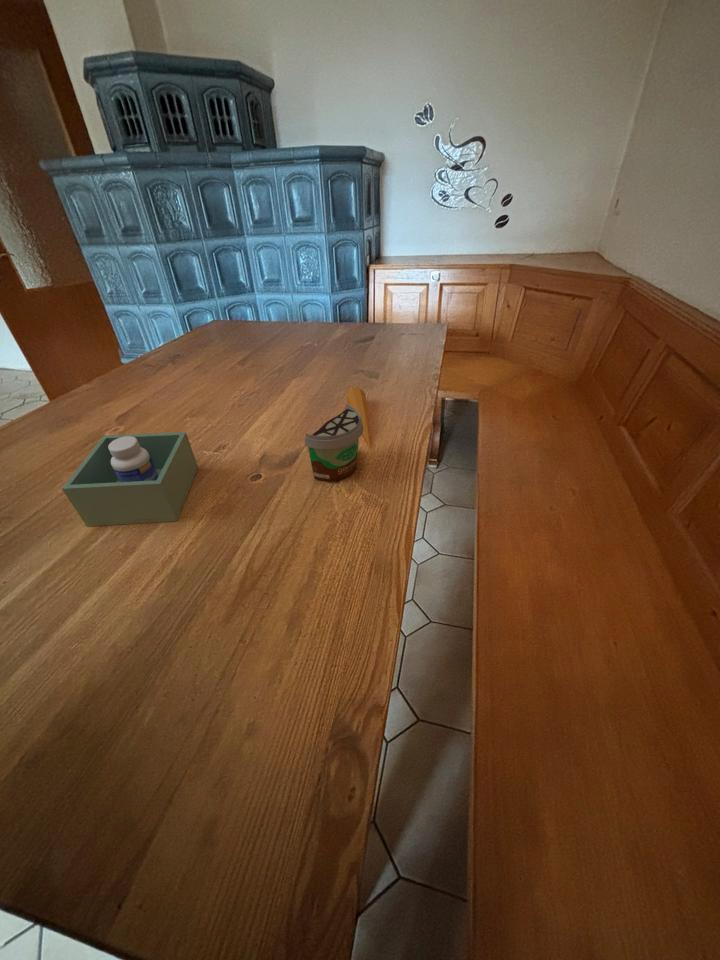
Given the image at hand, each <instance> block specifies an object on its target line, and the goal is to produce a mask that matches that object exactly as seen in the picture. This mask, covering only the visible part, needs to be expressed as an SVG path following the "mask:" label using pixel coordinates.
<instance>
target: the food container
mask: <svg viewBox="0 0 720 960" xmlns="http://www.w3.org/2000/svg"><path fill="white" fill-rule="evenodd" d="M362 433H363V423H362V419H361V417H360V415H359V413H358V411H357V410H356V409H354V408H353V407H351V406H349V405H348V403H346V404H345V409H344V410H342V412H340V413H339V414H338V415H336V416H334V417H332V418H330V419H328V420H327V421H326V422H325V423H324V424H322V426H320V427H319V429H318V430H316V431H315V432H313V433H312V434H310V433H305V437H304V446H305V447H307V449H308V454H309V459H310V463H311V469H312V473H313V479H315V480H317V481H321V482H326V483H327V482H328V483H333V482H339V481H342V480H346V479H347V478H349V477H351V476H353V474H354V473H355V472H356V470H357V466H358V465H357V464H358V453H359V441H360V437H361V436H363V435H362Z"/></svg>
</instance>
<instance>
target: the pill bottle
mask: <svg viewBox="0 0 720 960" xmlns="http://www.w3.org/2000/svg"><path fill="white" fill-rule="evenodd" d="M108 449H109V451H110V453H111V455H112V456H113V457H112V459H111V465H112V467H113V469H114V471H115V473H116V475H117V477H118V479H119V481H120V482H136V481H156V480H157V478H158V477H159V476H158V473H157V471H156V469H155V467H154V464H153V462H152V460H151V458H150V455H149V453H148V452H147V450H145V449H144V448H141V447H140V444H139V443H138V441H137V439H136V438H135V437H131V436H126V437H121V438H118V439H116V440H114V441H112V442H111V443H110V444H109V446H108Z"/></svg>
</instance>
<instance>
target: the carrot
mask: <svg viewBox="0 0 720 960" xmlns="http://www.w3.org/2000/svg"><path fill="white" fill-rule="evenodd" d="M346 402H347V405H349V406H351V407H353V408H354V409H356V410H357V411H358V413H359V415H360V417H361V419H362V423H363V433H362V435H361V436H363V438H364V440H365V442H366V443H367V445H368V447H369V448H370V450H371V449H372V448H371V447H372V444H371V428H370V419H369V413H368V412H369V411H368V403H367V395H366V393H365V392H364V390H363V389H361V388H360V387H359V386H356V387H353V386H352V387H351V388H350V389H349V390H348V391H347V394H346Z"/></svg>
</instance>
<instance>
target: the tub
mask: <svg viewBox="0 0 720 960" xmlns="http://www.w3.org/2000/svg"><path fill="white" fill-rule="evenodd" d="M126 436H131V437H135V438H136V439H137V441H138V443H139V444H140V447H141V448H144V449H145V450H147V452H148V453H149V455H150V458H151V460H152V462H153V464H154V467H155V469H156V471H157V473H158V476H159V477H158V478H157V480H156V481H136V482H120V481H119V479H118V477H117V475H116V473H115V471H114V469H113V467H112V465H111V459H112V457H113V456H112V455H111V453H110V451H109V449H108V446H109V444H110V443H111V442H112V441H114V440H116V439H118V438H121V437H126ZM192 448H193V447H192V445H191V443H190V439H189V437H188V434H187V431H180V432H179V431H178V432H177V431H175V432H157V433H156V432H155V433H130V434H111V435H110V434H109V435H103V436H102V437H101V438H100V439H99V440H98V441H97V443H96V444H95V445H94V447H93V448H92V449H91V450H90V452H89V453H88V455H87V456H86V457H85V458H84V460H83V461H82V462H81V463H80V465H79V466H78V467H77V468H76V470H75V471H74V472H73V473H72V475H70V477H69V478H68V480H67V481H66V482H65V484H64V485H63V486H62V487H61V490H62V492H63V493H64V494H65V496H66V498H67V499H68V500H69V502H70V504H71V505H72V506H73V508H74V510H75V511H76V512H77V514H78V516H79V517H80V519H81V520H82V522H83V523H84V524H85V526H86V527H100V526H101V527H103V526H119V525H120V526H121V525H136V524H139V525H140V524H155V523H156V524H157V523H172V522H173V523H175V522H178V521H179V518H180V515H181V512H182V511H183V508H184V505H185V503H186V500H187V497H188V495H189V492H190V490H191V487H192V485H193V482H194V479H195V477H196V475H197V473H198V470H199V465H198V463H197V460H196V456H195V454H194V451H193V449H192Z"/></svg>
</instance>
